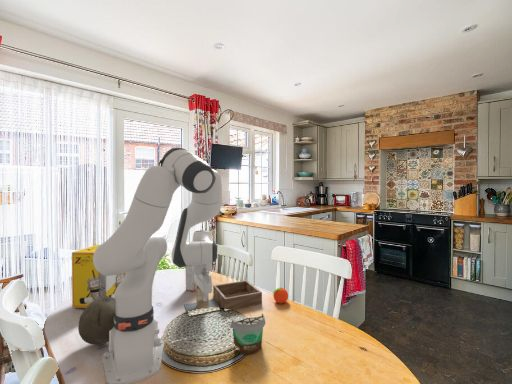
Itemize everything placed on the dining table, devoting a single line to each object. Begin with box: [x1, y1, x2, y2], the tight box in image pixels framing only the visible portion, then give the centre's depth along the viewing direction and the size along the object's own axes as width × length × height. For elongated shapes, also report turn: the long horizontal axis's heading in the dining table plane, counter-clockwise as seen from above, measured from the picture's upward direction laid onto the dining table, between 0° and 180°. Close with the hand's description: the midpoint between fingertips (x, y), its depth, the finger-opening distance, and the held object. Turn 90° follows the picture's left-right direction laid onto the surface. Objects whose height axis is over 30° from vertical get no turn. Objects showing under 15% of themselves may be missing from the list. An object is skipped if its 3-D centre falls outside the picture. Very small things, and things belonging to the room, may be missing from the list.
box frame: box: [212, 279, 263, 311], centre depth 128 cm, size 18×18×6 cm
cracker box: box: [185, 266, 197, 292], centre depth 145 cm, size 14×6×21 cm, turn 156°
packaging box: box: [71, 244, 127, 309], centre depth 127 cm, size 16×16×25 cm
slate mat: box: [183, 298, 221, 312], centre depth 119 cm, size 12×14×1 cm
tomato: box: [272, 287, 289, 304], centre depth 124 cm, size 8×7×7 cm
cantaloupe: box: [77, 296, 116, 346], centre depth 93 cm, size 14×14×15 cm
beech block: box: [195, 286, 210, 309], centre depth 119 cm, size 4×4×9 cm
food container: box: [230, 313, 266, 355], centre depth 88 cm, size 12×6×10 cm, turn 114°
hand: (202, 296), depth 119 cm, fingers open, 8 cm apart
